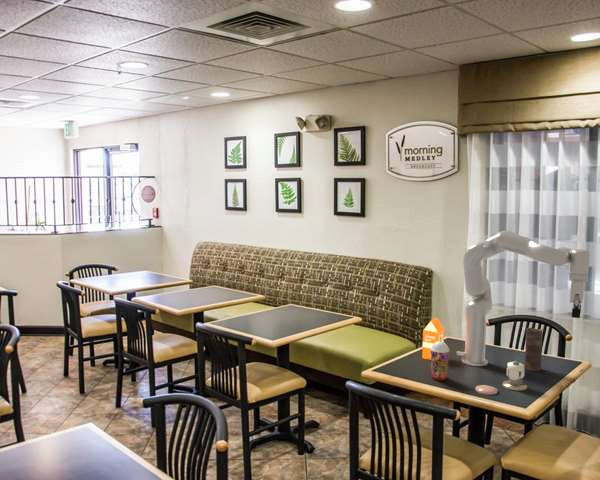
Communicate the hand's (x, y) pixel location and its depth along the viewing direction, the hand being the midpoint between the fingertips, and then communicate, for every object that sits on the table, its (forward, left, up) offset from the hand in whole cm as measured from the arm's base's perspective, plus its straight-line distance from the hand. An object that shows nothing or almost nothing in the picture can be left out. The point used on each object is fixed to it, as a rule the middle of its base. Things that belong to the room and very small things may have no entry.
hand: (576, 315), depth 248 cm
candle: (-18, +7, -31) cm, 36 cm away
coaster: (-29, -34, -30) cm, 54 cm away
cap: (-20, -22, -25) cm, 39 cm away
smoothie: (-51, -31, -31) cm, 67 cm away
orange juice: (-64, -3, -31) cm, 71 cm away
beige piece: (-20, -22, -30) cm, 42 cm away
